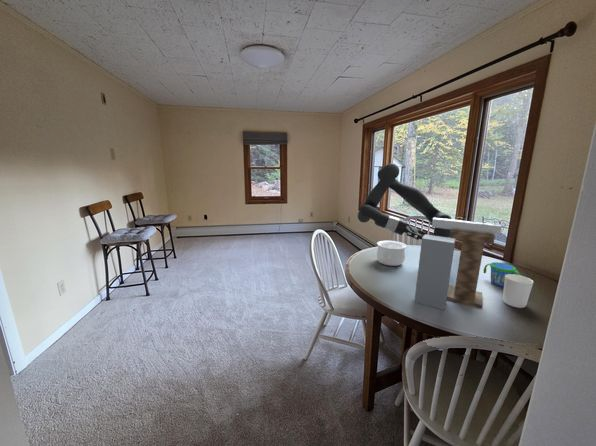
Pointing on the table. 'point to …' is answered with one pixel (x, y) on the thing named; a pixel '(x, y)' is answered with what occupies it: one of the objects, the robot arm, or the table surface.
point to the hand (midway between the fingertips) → (427, 237)
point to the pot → (391, 252)
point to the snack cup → (500, 272)
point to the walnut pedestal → (468, 267)
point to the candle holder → (516, 290)
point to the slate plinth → (434, 270)
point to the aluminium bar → (467, 226)
